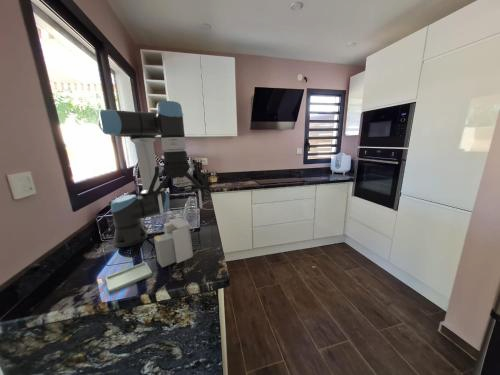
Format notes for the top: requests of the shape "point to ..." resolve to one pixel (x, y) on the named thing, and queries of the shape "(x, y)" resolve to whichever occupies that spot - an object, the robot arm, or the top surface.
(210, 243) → the top surface
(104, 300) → the top surface
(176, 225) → the printer bay
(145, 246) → the top surface
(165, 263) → the upright pale grey block
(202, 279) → the top surface
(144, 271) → the tray
